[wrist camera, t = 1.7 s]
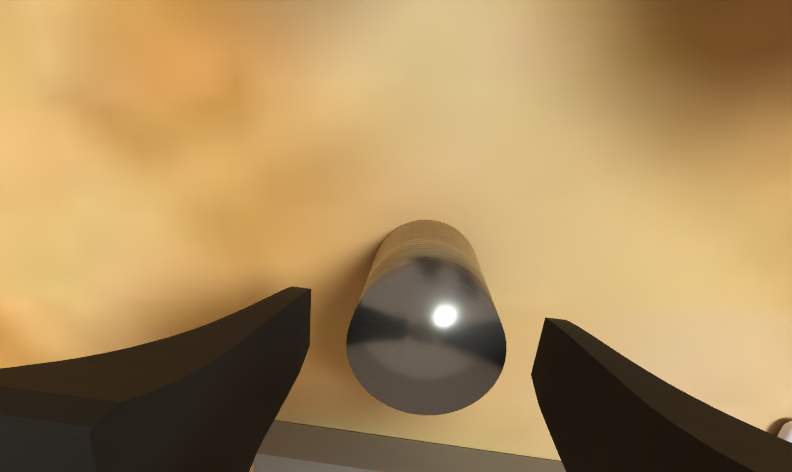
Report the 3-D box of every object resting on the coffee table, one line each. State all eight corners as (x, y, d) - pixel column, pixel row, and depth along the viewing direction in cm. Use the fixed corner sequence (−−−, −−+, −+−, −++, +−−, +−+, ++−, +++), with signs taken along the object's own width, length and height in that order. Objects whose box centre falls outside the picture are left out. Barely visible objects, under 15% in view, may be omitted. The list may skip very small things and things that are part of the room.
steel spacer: (485, 226, 15) (521, 288, 10) (468, 320, 17) (490, 424, 11) (378, 214, 15) (351, 267, 10) (370, 308, 17) (342, 404, 11)
